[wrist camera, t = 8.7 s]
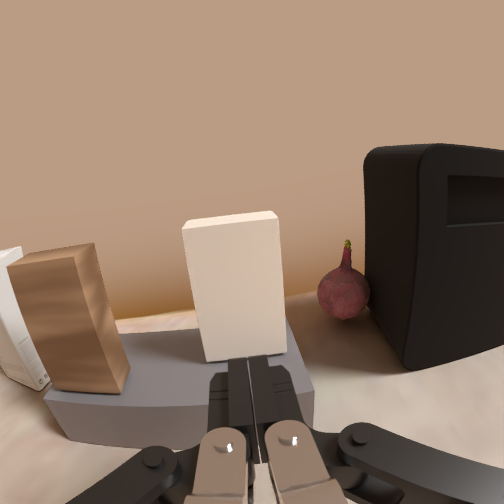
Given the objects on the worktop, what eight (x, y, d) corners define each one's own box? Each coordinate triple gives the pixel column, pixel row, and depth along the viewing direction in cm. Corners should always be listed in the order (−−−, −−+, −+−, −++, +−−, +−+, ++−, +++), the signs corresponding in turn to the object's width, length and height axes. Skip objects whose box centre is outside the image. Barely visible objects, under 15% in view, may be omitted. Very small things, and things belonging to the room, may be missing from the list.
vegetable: (369, 335, 31) (374, 248, 28) (314, 334, 32) (313, 249, 30) (367, 309, 36) (370, 233, 33) (320, 309, 38) (318, 233, 35)
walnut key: (121, 393, 18) (73, 256, 15) (55, 389, 17) (6, 266, 14) (130, 368, 21) (94, 242, 18) (69, 367, 20) (29, 253, 17)
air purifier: (475, 287, 36) (483, 153, 30) (532, 333, 22) (558, 160, 16) (358, 305, 37) (356, 147, 32) (398, 375, 24) (415, 141, 18)
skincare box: (68, 366, 28) (26, 244, 24) (38, 395, 23) (-17, 263, 19) (30, 354, 30) (-7, 248, 26) (3, 377, 25) (-43, 264, 20)
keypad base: (312, 435, 19) (314, 390, 17) (70, 440, 18) (43, 398, 16) (288, 360, 28) (286, 317, 27) (101, 373, 27) (85, 335, 26)
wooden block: (287, 352, 21) (278, 217, 19) (206, 361, 21) (181, 229, 18) (280, 331, 24) (271, 210, 21) (208, 340, 24) (187, 220, 21)
